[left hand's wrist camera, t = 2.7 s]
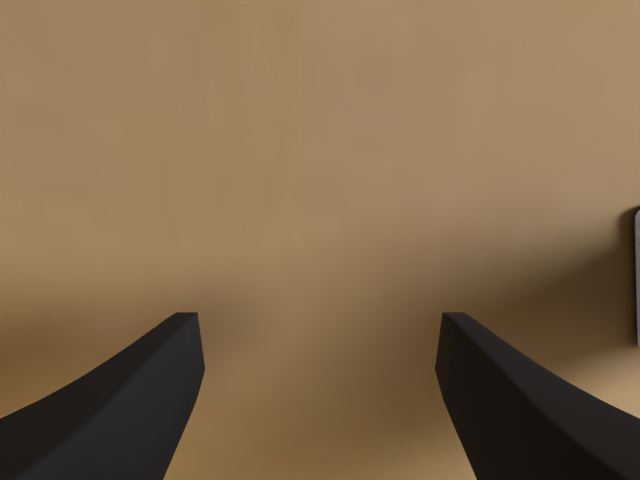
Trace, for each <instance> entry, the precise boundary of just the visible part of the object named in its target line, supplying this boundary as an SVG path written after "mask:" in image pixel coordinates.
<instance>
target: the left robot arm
mask: <svg viewBox="0 0 640 480" xmlns="http://www.w3.org/2000/svg"><path fill="white" fill-rule="evenodd" d="M635 251H636V294H637V338H638V346H639V347H640V210H639V211H638V212H637V214H636V216H635ZM204 371H205V366H204V358H203V351H202V343H201V336H200V328H199V321H198V314H197V313H175V314H173V315H172V316H170V317H169V318H167V319H166V320H164V321H163V322H162V323H160V324H159V325H157V326H156V327H155V328H153V329H152V330H151V331H149V332H148V333H146V334H145V335H144V336H142V337H141V338H139V339H138V340H137V341H135V342H134V343H132V344H131V345H130V346H128V347H127V348H125V349H124V350H122V351H121V352H119V353H118V354H116V355H115V356H113V357H112V358H110V359H109V360H107V361H106V362H104V363H103V364H101V365H100V366H98V367H96V368H95V369H93V370H92V371H90V372H89V373H87V374H85V375H84V376H82V377H81V378H79V379H77V380H75V381H74V382H72V383H70V384H68V385H67V386H65V387H63V388H61V389H59V390H58V391H56V392H54V393H52V394H50V395H48V396H47V397H45V398H43V399H41V400H39V401H37V402H35V403H33V404H30V405H28V406H26V407H24V408H22V409H20V410H18V411H16V412H14V413H12V414H10V415H8V416H5V417H3V418H1V419H0V480H163V479H164V476H165V474H166V471H167V469H168V467H169V464H170V462H171V460H172V457H173V455H174V452H175V450H176V448H177V445H178V443H179V441H180V438H181V436H182V434H183V431H184V429H185V427H186V424H187V422H188V420H189V417H190V415H191V412H192V410H193V408H194V405H195V403H196V400H197V396H198V393H199V390H200V386H201V382H202V379H203V375H204ZM435 371H436V375H437V379H438V382H439V386H440V390H441V393H442V396H443V400H444V403H445V405H446V408H447V410H448V412H449V415H450V417H451V420H452V422H453V424H454V427H455V429H456V431H457V434H458V436H459V438H460V441H461V443H462V445H463V448H464V450H465V452H466V455H467V457H468V460H469V462H470V464H471V467H472V469H473V471H474V474H475V476H476V479H477V480H640V419H639V418H637V417H635V416H633V415H631V414H628V413H626V412H624V411H622V410H620V409H618V408H616V407H614V406H612V405H610V404H608V403H606V402H604V401H602V400H600V399H598V398H596V397H594V396H592V395H590V394H588V393H587V392H585V391H583V390H581V389H579V388H577V387H576V386H574V385H572V384H570V383H568V382H567V381H565V380H563V379H562V378H560V377H558V376H556V375H555V374H553V373H552V372H550V371H548V370H547V369H545V368H544V367H542V366H541V365H539V364H537V363H536V362H534V361H533V360H531V359H530V358H528V357H527V356H525V355H524V354H522V353H521V352H519V351H518V350H516V349H515V348H513V347H512V346H511V345H509V344H508V343H506V342H505V341H504V340H502V339H501V338H499V337H498V336H497V335H495V334H494V333H492V332H491V331H490V330H488V329H487V328H486V327H484V326H483V325H481V324H480V323H479V322H477V321H476V320H474V319H473V318H471V317H470V316H468V315H467V314H465V313H443V314H442V321H441V328H440V336H439V343H438V351H437V358H436V366H435Z"/></svg>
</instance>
